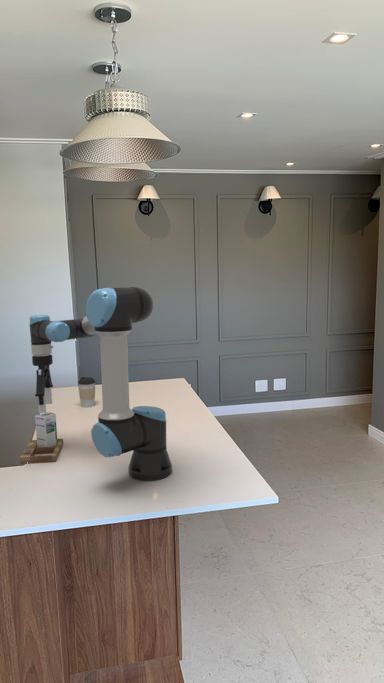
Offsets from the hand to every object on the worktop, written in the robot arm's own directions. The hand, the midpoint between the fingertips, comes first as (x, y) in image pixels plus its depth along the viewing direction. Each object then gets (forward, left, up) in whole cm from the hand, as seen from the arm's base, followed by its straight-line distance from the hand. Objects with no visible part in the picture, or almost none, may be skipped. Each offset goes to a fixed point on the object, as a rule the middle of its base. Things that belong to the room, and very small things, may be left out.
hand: (45, 408), depth 193 cm
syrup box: (0, 0, -17) cm, 17 cm away
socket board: (-4, +1, -17) cm, 18 cm away
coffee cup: (+64, -10, -17) cm, 67 cm away
